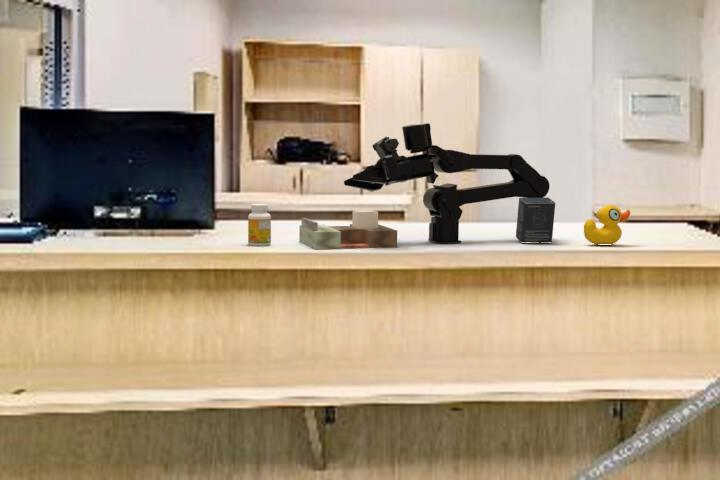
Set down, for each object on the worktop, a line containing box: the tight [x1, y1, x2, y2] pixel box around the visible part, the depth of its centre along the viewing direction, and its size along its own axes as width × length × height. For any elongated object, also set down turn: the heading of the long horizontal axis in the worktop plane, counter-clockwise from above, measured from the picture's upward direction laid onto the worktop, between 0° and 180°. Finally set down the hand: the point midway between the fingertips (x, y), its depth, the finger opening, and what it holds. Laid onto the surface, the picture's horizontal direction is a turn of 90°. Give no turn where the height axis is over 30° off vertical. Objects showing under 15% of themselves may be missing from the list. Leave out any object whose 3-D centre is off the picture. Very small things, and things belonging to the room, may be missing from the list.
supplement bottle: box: [247, 203, 272, 247], centre depth 223 cm, size 5×5×10 cm
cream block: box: [351, 209, 379, 229], centre depth 228 cm, size 5×5×4 cm
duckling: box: [583, 204, 631, 245], centre depth 231 cm, size 11×5×10 cm, turn 95°
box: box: [515, 196, 556, 244], centre depth 234 cm, size 8×6×11 cm
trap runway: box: [298, 217, 398, 250], centre depth 227 cm, size 20×16×6 cm
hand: (348, 180), depth 225 cm, fingers open, 9 cm apart
